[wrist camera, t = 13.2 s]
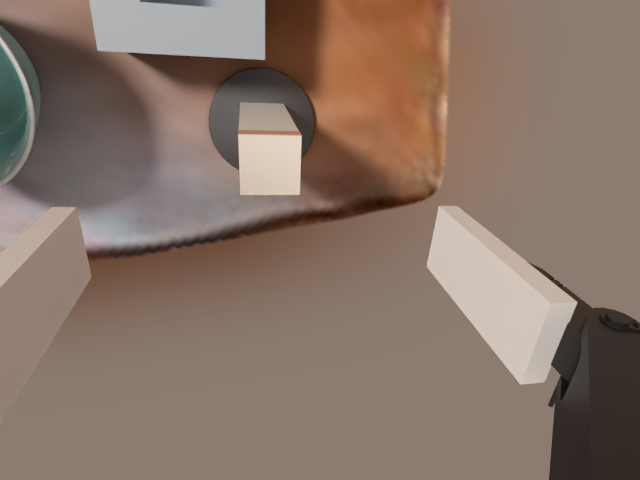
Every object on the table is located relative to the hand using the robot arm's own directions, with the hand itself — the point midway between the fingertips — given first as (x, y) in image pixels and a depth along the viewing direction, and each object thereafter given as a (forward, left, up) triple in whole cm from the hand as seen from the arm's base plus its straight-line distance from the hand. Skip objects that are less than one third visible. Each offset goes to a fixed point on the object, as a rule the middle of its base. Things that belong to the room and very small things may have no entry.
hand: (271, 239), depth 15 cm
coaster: (+1, -1, -27) cm, 27 cm away
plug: (+1, -1, -27) cm, 27 cm away
